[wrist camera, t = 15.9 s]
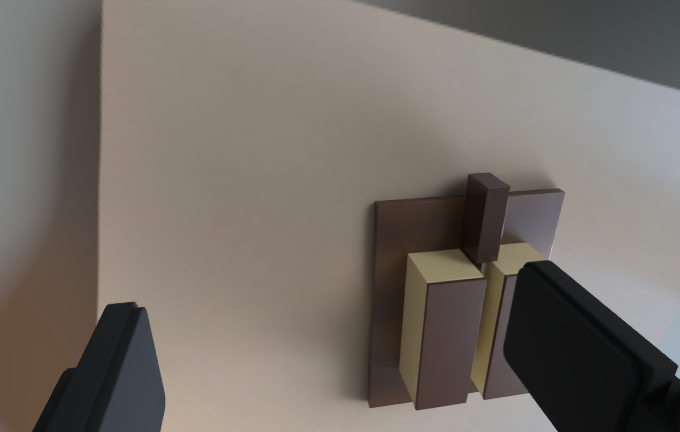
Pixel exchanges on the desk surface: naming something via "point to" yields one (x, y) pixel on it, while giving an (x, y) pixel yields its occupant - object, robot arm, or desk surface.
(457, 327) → the cake
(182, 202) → the desk surface
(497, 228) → the knife
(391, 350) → the cake board
